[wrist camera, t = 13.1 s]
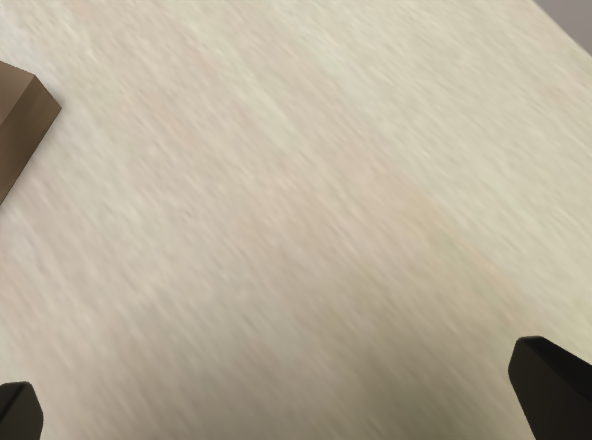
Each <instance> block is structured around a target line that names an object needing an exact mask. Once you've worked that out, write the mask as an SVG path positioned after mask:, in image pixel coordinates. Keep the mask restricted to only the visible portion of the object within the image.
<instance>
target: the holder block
mask: <svg viewBox="0 0 592 440" xmlns="http://www.w3.org/2000/svg"><path fill="white" fill-rule="evenodd" d="M60 109H61V107H60V106H59V104H58V103H57V102H56V101H55V99H54V98H53V97H52V96H51V94H50V93H49V92H48V91H47V89H46V88H45V87H44V86H43V84H42V83H41V82H40V80H39V79H38V78H37V77H36V75H34V74H32V73H29V72H27V71H24V70H22V69H19V68H17V67H14V66H12V65H9V64H7V63H4V62H2V61H0V204H1V202H2V201H3V199H4V198H5V196H6V195H7V193H8V191H9V190H10V188H11V187H12V185H13V184H14V182H15V180H16V179H17V177H18V176H19V174H20V172H21V171H22V169H23V168H24V166H25V165H26V163H27V161H28V160H29V158H30V157H31V155H32V154H33V152H34V150H35V149H36V147H37V146H38V144H39V143H40V141H41V139H42V138H43V136H44V135H45V133H46V131H47V130H48V128H49V127H50V125H51V124H52V122H53V120H54V119H55V117H56V116H57V114H58V113H59V111H60Z"/></svg>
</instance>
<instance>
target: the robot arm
mask: <svg viewBox="0 0 592 440" xmlns="http://www.w3.org/2000/svg"><path fill="white" fill-rule="evenodd" d="M508 375H509V379H510V381H511V384H512V386H513V388H514V391H515V393H516V395H517V398H518V400H519V402H520V405H521V407H522V409H523V412H524V414H525V416H526V418H527V421H528V423H529V425H530V428H531V430H532V432H533V435H534V437H535V439H536V440H592V365H590V364H589V363H587V362H585V361H584V360H582V359H580V358H578V357H577V356H575V355H573V354H572V353H570V352H568V351H566V350H565V349H563V348H561V347H560V346H558V345H556V344H554V343H553V342H551V341H549V340H548V339H546V338H544V337H542V336H527V337H520V338H519V339H518V340H517V341H516V344H515V347H514V350H513V353H512V356H511V360H510V363H509V366H508ZM42 427H43V412H42V409H41V406H40V404H39V401H38V399H37V396H36V394H35V391H34V389H33V386H32V385H31V384H30V383H29V382H26V381H23V382H12V383H5V384H2V385H1V386H0V440H40V436H41V432H42Z"/></svg>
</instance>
